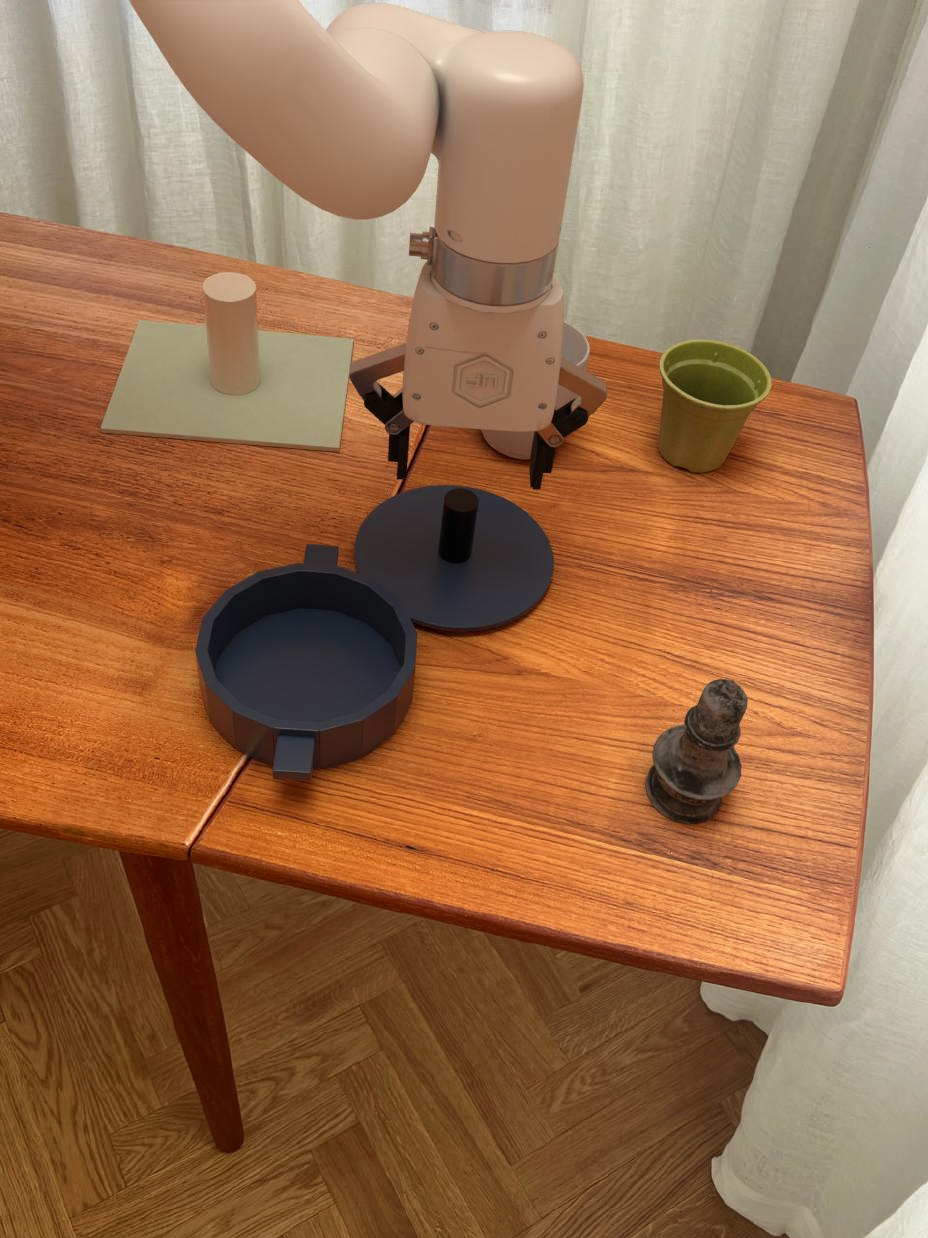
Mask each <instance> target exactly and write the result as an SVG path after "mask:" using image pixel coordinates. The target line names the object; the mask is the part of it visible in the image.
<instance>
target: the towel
mask: <svg viewBox="0 0 928 1238" xmlns="http://www.w3.org/2000/svg"><path fill="white" fill-rule="evenodd" d="M258 333H259V354H260V374H261V382H260V384H259V386H258V387H257V388H256V389H255V390H254V391H252V392H250V393H247V394H243V395H228V394H224V393H222V392H219V391H218V390H216V389H215V388H214V387H213V386H212V384H211V381H210V369H209V358H208V347H207V336H206V325H205V324H204V325H203V324H193V323H192V324H191V323H182V322H181V323H180V322H169V321H157V320H148V319H147V320H145V319H139V320H138V322H137V325H136V327H135V331H134V333H133V336H132V338H131V341H130V344H129V347H128V349H127V353H126V355H125V358H124V361H123V364H122V366H121V370H120V372H119V375H118V378H117V380H116V383H115V386H114V389H113V391H112V394H111V396H110V400H109V403H108V405H107V409H106V411H105V414H104V417H103V419H102V422H101V425H100V427H99V429H100V433H102V434H112V435H113V434H114V435H126V436H140V437H151V438H164V439H175V440H188V441H198V442H199V441H201V442H211V443H222V444H236V445H246V446H247V445H249V446H260V447H270V448H271V447H273V448H284V449H285V448H286V449H297V450H307V451H309V450H310V451H321V452H332V453H333V452H335V453H340V448H341V441H342V433H343V425H344V418H345V412H346V411H345V410H346V404H347V396H348V390H349V389H348V388H349V380H350V378H349V377H350V369H351V364H352V359H353V351H354V341H355V340H354V338H349V337H339V336H328V335H316V334H315V335H314V334H303V333H292V332H283V331H282V332H281V331H272V330H271V331H269V330H259V329H258Z"/></svg>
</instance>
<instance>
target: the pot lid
mask: <svg viewBox="0 0 928 1238" xmlns="http://www.w3.org/2000/svg"><path fill="white" fill-rule="evenodd" d="M353 547H354V548H353V551H354V554H353V559H354V564H355V568H356V571H357V573H359V574H361V575H364V576H366V577H369V578H372V579H374V580H376V581H377V582H378V583H379V584H381V585H382V586H383V587H384V588H385V589H386V590H388V591H389V592H390V593H391V594H392V595H394V596H395V597H396V598H397V599H398V600H399V601H401V602H402V603H403V605H404V607H405V609H406V611H407V613H408V615H409V617H410V619H411V621H412V623H413V624H416V625H419V626H421V627H426V628H430V629H435V630H440V631H448V632H465V633H466V632H467V633H468V632H479V631H484V630H490V629H495V628H499V627H501V626H505V625H507V624H509V623H512V622H514V621H516V620H518V619H520V618H521V617H523V616H524V615H526V614H527V613H529V612H530V611H531V610H532V609H534V608H535V607H536V606H537V604H538V603H539V602H540V601H542V599H543V597H544V596H545V594H546V593H547V591H548V589H549V587H550V584H551V582H552V578H553V573H554V567H555V566H554V565H555V559H554V553H553V548H552V545H551V543H550V540H549V538H548V536H547V534H546V532H545V530H543V528H542V526H541V525H540V523H539V522H537V521H536V519H535V518H534V517H532V515H531V514H529V513H528V511H526V510H525V509H523V507H521V506H519V505H517V504H516V503H514V502H512V501H510V500H508V499H507V498H505V497H503V496H500V495H498V494H497V493H493V492H490V491H486V490H484V489H480V488H476V487H471V486H465V485H457V484H435V485H426V486H420V487H416V488H412V489H408V490H405V491H402V492H399V493H397V494H395V495H393V496H391V497H389V498H387V499H386V500H384V501H382V502H381V503H379V504H378V505H377V506H376V507H375V508H373V509H372V510H371V511H370V512H369V513H368V515H366V517H364V520H363V521H362V522H361V524H360V526H359V528H358V530H357V533H356V535H355V541H354V546H353Z"/></svg>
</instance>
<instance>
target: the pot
mask: <svg viewBox="0 0 928 1238" xmlns="http://www.w3.org/2000/svg"><path fill="white" fill-rule="evenodd" d="M339 550H340V549H339V546H338V545H330V544H329V545H328V544H314V543H306V544H305V549H304V556H303V562H297V563H291V564H286V565H282V566H277V567H272V568H267V569H263V570H259V571H256V572H255V573H253V574H251V575H249V576H248V577H245V578H244V579H242V580H240V581H239V582H236V583H235V584H234V585H232V586H230V587H228V588H226V589H225V590H224V591H223V592H222V593H221V594H220V596H219V597H218V598H217V600H216V601H215V602H214V603H213V605H212V606H211V607H210V608H209V610H207V612H206V614H205V615H203V617H202V619H201V623H200V627H199V632H198V635H197V640H196V645H195V649H194V651H195V660H196V668H197V674H198V675H197V676H198V682H199V690H200V692H201V695H202V700H203V704H204V709H205V710H206V713H207V715H208V716H207V717H208V718H209V720H210V722H211V723H212V725H213V726H214V728H215V729H216V731H217V732H218V733H219V734H220V736H222V738H223V739H224V740H225V741H226V742H228V743H229V744H230V745H231V746H232V747H234V749H236V750H238V751H239V752H241V753H242V754H244V755H246V756H248V757H249V758H252V759H254V760H256V761H258V762H262V763H264V764H267V765H270V766H272V770H271V771H272V773H271V774H272V779H273V780H279V781H295V782H296V781H297V782H312V778H313V770H321V769H329V768H333V767H338V766H342V765H345V764H348V763H351V762H354V761H356V760H358V759H361V758H362V757H365V756H367V755H368V754H370V753H371V752H373V751H375V750H376V749H378V748H379V747H380V746H382V745H383V744H384V743H385V742H387V741H388V740H389V739H390V738H391V737H392V735H393V734H394V733H395V732H396V731H397V730H398V728H399V727H400V725H401V724H402V723H403V721H404V719H405V717H406V714H407V713H408V711H409V708H410V706H411V704H412V702H413V696H414V685H415V675H416V666H417V650H418V649H417V648H418V647H417V646H418V632H417V630H416V628H415V625H414V623H413V622H412V621H411V619H410V617H409V615H408V613H407V611H406V609H405V607H404V605H403V603H402V602H401V601H399V600H398V599H397V598H396V597H395V596H394V595H392V594H391V593H390V592H389V591H388V590H386V589H385V588H384V587H383V586H382V585H381V584H379V583H378V582H377V581H376V580H374V579H372V578H369V577H366V576H364V575H361V574H359V573H358V572H356V571H353V570H350V569H348V568H345V567H343V566H339V565H338V562H339V552H340V551H339Z"/></svg>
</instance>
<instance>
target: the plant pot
mask: <svg viewBox="0 0 928 1238" xmlns="http://www.w3.org/2000/svg"><path fill="white" fill-rule="evenodd" d="M658 367H659V374H660V376H661V378H662V379H661V381H662V382H661V383H662V388H663V391H662V392H663V394H662V402H661V411H660V421H659V429H658V437H657V438H658V439H657V448H658V452H659V453H660V455H661V457H662V458H663V459H664V460H665V461H666V462H667V463H669V464H670V465H672V466H673V467H680V468H684V469H686V470H688V471H689V472H691V473H708V472H712V471H715V470H717V469H718V468H720V467H722V466H723V463H724V462H725V461H726V459H727V457H728V455H729V453H730V451H731V450H732V447H733V446H734V444H735V442H736V440H737V438H738V436H739V435H740V433H741V431H742V430H743V428H744V425H745V423H746V422H747V420H748V418H749V416H750V415H751V413H752V412H753V411H754V410H755V409H756V407H757V406H758V405H760V404H761V403H762V402H763V401H764V400H765V399H766V398H767V397H768V395H769V394H770V392H771V388H772V377H771V374H770V372H769V370H768V369H767V367H766V365H764V363H762V361H760V360H759V358H758V357H756V356H755V355H753V354H751V353H750V352H748V351H746V350H745V349H743V348H741V347H738V346H736V345H733V344H731V343H727V342H724V341H719V340H711V339H689V340H685V341H680V342H678V343H675V344H673V345H671V346H670V347H668V348H667V349H665V351H664V352H663V353H662V355H661V357H660V359H659V366H658Z"/></svg>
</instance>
